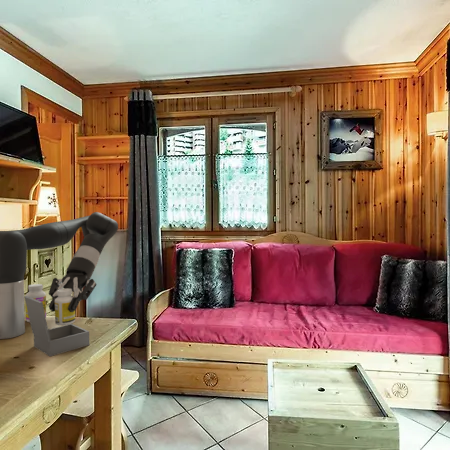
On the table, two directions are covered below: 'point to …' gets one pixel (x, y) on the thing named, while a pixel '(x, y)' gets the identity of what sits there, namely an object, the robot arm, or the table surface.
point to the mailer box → (53, 332)
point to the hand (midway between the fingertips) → (60, 310)
